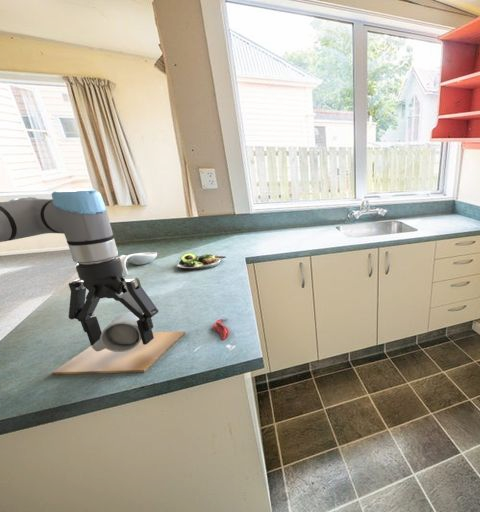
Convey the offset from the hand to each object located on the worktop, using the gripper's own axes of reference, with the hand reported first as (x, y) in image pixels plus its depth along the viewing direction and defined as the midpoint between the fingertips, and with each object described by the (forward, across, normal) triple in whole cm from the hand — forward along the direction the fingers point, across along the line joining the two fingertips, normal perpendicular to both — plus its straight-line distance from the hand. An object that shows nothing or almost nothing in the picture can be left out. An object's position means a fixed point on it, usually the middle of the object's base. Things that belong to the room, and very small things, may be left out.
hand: (123, 342), depth 73 cm
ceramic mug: (+1, 0, 0) cm, 1 cm away
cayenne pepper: (+3, -19, -9) cm, 21 cm away
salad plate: (+3, +17, -66) cm, 68 cm away
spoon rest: (+3, +43, -63) cm, 76 cm away
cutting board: (+3, 0, 0) cm, 3 cm away
